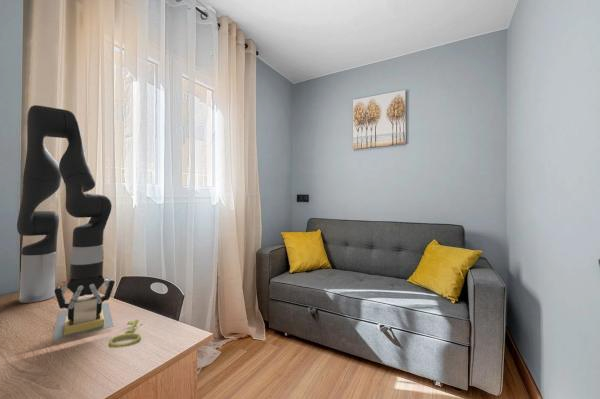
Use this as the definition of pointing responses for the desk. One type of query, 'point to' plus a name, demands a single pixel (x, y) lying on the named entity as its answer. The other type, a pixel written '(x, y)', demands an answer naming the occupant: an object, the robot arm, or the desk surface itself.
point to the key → (126, 336)
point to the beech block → (85, 309)
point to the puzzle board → (81, 324)
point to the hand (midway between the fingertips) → (84, 317)
